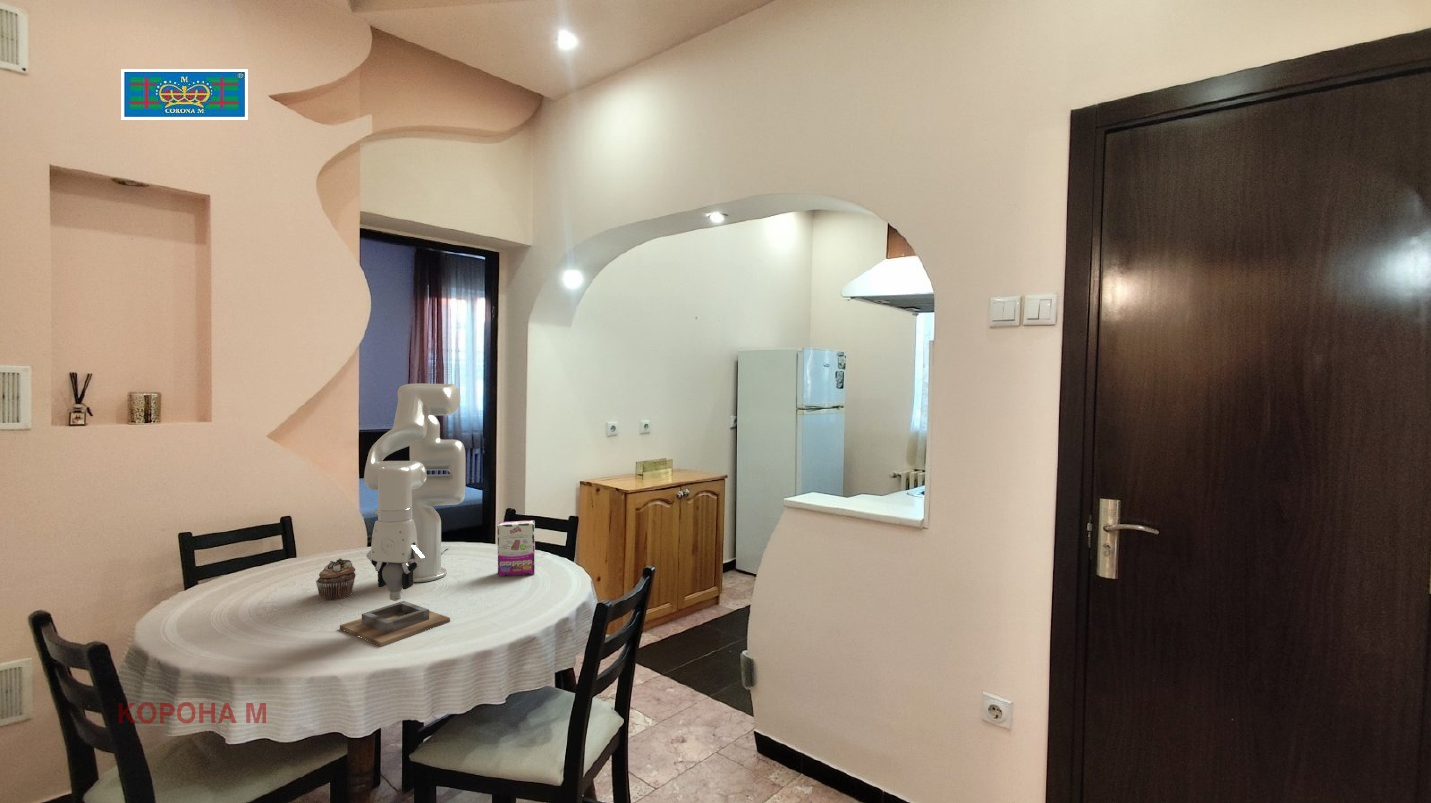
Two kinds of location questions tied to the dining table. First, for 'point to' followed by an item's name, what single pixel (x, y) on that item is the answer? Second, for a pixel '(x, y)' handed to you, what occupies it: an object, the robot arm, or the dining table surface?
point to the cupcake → (336, 580)
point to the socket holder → (394, 623)
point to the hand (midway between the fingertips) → (395, 586)
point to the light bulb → (393, 579)
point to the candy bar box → (516, 548)
